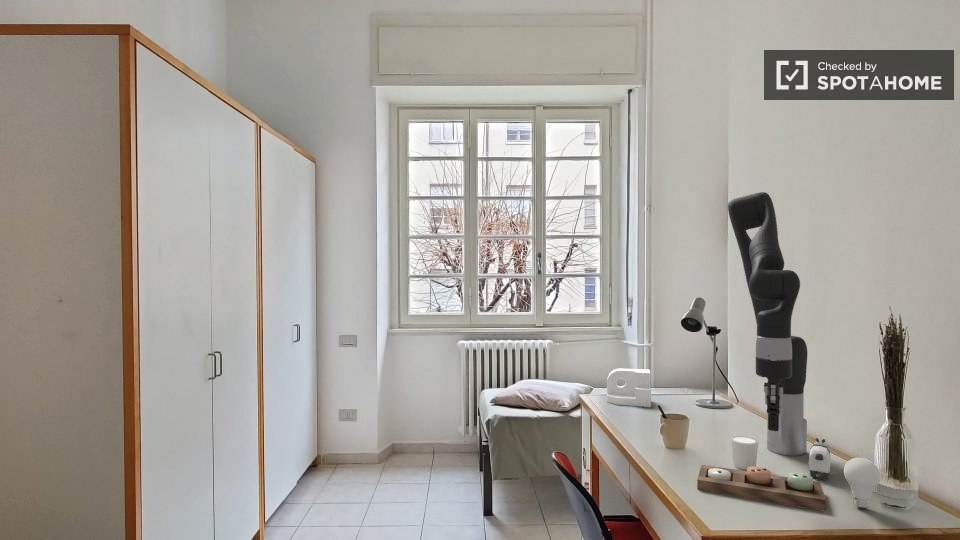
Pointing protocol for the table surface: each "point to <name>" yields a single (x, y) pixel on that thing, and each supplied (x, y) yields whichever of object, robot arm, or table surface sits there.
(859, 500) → the light bulb
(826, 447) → the giant panda
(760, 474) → the button three
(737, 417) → the table surface
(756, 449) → the white tapered cylinder
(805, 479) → the button two
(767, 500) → the button board
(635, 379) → the tape dispenser
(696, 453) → the table surface
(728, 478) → the button one
